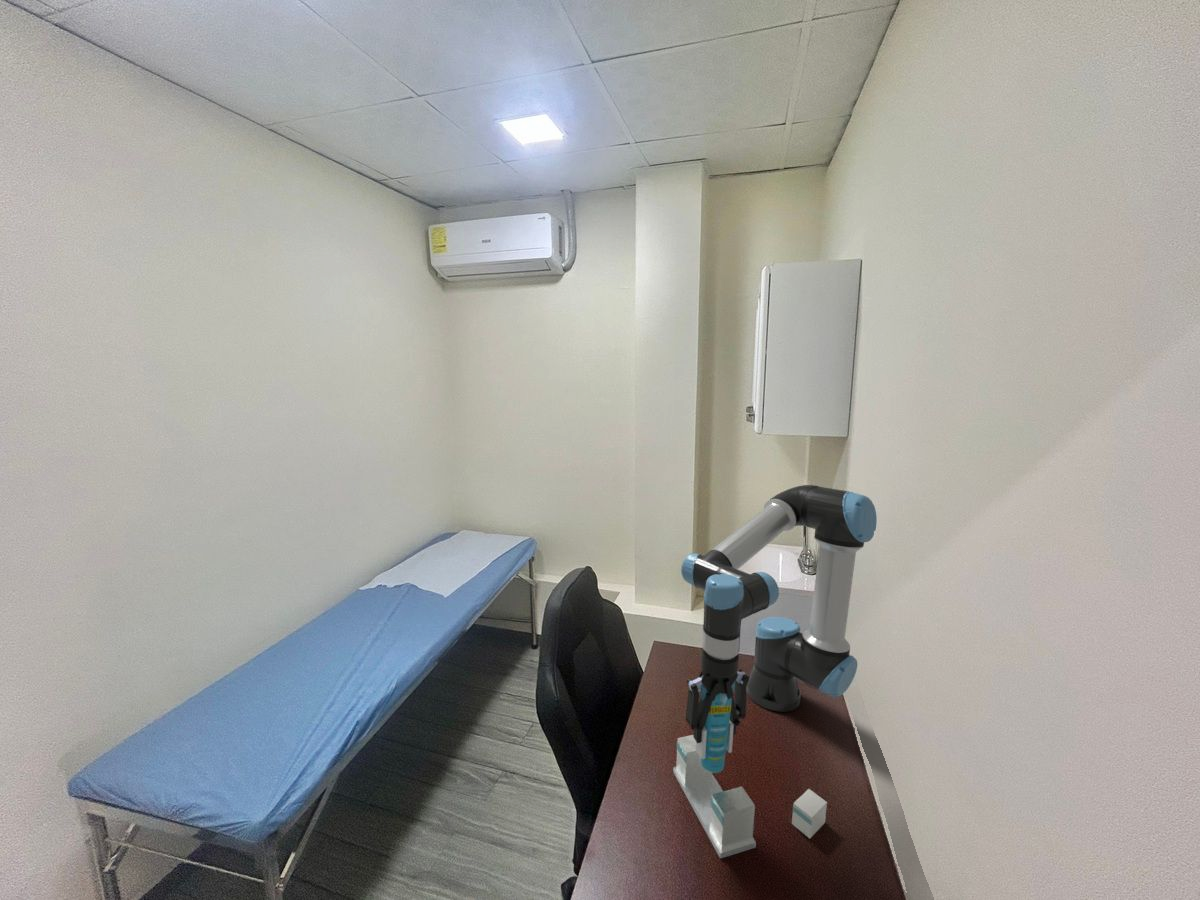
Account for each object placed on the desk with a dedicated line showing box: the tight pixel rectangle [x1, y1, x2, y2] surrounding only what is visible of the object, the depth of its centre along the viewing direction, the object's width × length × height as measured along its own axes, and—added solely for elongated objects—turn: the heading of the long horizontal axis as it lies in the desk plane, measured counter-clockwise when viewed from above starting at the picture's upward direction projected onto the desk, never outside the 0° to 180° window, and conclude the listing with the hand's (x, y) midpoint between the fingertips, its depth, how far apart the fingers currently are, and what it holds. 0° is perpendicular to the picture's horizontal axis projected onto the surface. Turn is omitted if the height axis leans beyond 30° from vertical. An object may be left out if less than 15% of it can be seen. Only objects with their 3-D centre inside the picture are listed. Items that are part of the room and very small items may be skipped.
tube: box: [700, 682, 735, 774], centre depth 98 cm, size 7×5×19 cm, turn 103°
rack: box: [672, 734, 757, 859], centre depth 100 cm, size 8×21×9 cm, turn 17°
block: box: [791, 788, 828, 839], centre depth 97 cm, size 6×4×5 cm, turn 126°
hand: (713, 750), depth 98 cm, fingers closed on tube, 6 cm apart
